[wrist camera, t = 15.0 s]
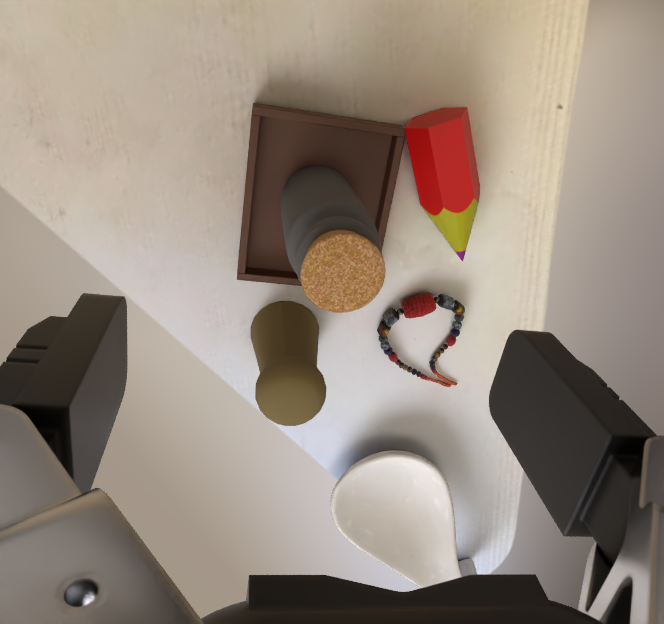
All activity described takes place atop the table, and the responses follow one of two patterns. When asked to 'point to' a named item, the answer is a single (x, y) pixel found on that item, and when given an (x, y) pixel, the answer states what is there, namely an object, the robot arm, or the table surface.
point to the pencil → (445, 171)
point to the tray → (298, 153)
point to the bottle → (331, 240)
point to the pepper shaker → (287, 363)
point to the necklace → (418, 308)
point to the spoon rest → (401, 516)
